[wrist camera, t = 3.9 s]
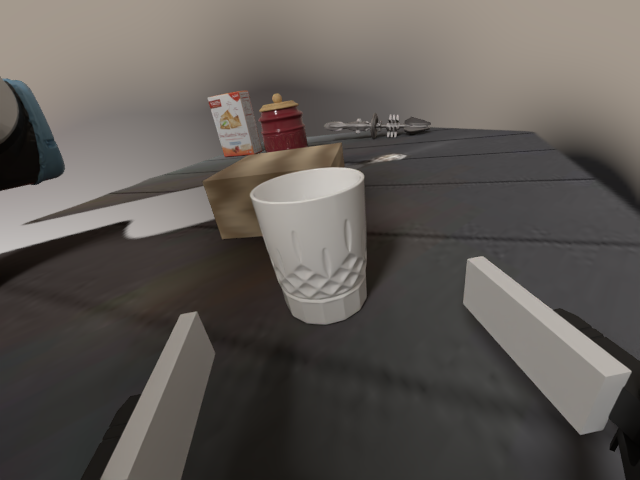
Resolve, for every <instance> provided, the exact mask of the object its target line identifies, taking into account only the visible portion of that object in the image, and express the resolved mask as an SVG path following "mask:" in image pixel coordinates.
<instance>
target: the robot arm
mask: <svg viewBox="0 0 640 480" xmlns="http://www.w3.org/2000/svg"><path fill="white" fill-rule="evenodd" d="M64 170H65V165H64V161H63V158H62V156H61V153H60V151H59V148H58V146H57V144H56V142H55V141H54V137H53V135H52V132H51V130H50V127H49V125H48V123H47V121H46V119H45V116H44V114H43V112H42V110H41V108H40V106H39V104H38V102H37V100H36V99H35V97H34V95H33V93H32V91H31V90H30V88H29V87H28V86H27V85H26V84H25V83H23V82H22V81H18V80H10V79H2V78H1V77H0V191H2V190H7V189H11V188H16V187H20V186H25V185H29V184H31V185H37V184H39V183H41V182H42V181H45V180H49V179H53V178H57V177H59V176H60V175H62V174H63V172H64ZM463 304H464V305H465V306H466V307H467V309H468V310H469V311H470V312H471V313H472V314H473V315H474V316H475V318H476V319H477V320H478V321H479V322H480V323H481V324H482V325H483V327H484V328H485V329H486V330H487V331H488V332H489V333H490V334H491V335H492V337H493V338H494V339H495V340H496V341H497V342H498V343H499V344H500V346H501V347H502V348H503V349H504V350H505V351H506V352H507V353H508V355H509V356H510V357H511V358H512V359H513V360H514V361H515V362H516V364H517V365H518V366H519V367H520V368H521V369H522V370H523V371H524V372H525V374H526V375H527V376H528V377H529V378H530V379H531V380H532V381H533V383H534V384H535V385H536V386H537V387H538V388H539V389H540V390H541V392H542V393H543V394H544V395H545V396H546V397H547V398H548V399H549V400H550V402H551V403H552V404H553V405H554V406H555V407H556V408H557V409H558V411H559V412H560V413H561V414H562V415H563V416H564V417H565V418H566V420H567V421H568V422H569V423H570V424H571V425H572V426H573V427H574V428H575V430H576V431H577V432H578V433H579V434H580V435H582V434H587V433H591V432H596V431H600V430H603V429H604V427H605V425H606V423H607V421H608V419H610V420H611V421H612V422H614V423H615V424H616V425H617V426H618V427H619V428H618V430H617V432H616V434H615V436H614V438H613V439H612V441H611V443H610V450H611V451H614V452H615V450H616V448H617V446H618V444H619V448H620V453H621V458H622V463H623V468H624V473H625V478H626V480H640V361H639V360H637V359H636V358H634V357H633V356H632V355H630V354H629V353H627V352H626V351H625V350H623V349H622V348H621V347H619V346H618V345H616V344H615V343H614V342H612V341H611V340H610V339H608V338H607V337H604V336H603V334H601V333H600V332H599V331H597V330H596V329H593V328H592V327H591V326H590V325H589V324H588V323H586V322H585V321H583V320H582V319H581V318H579V317H578V316H576V315H574V314H572V313H569V312H567V311H565V310H563V309H561V308H559V309H554V310H552V309H550V308H549V307H548V306H547V305H545V304H544V303H543V302H541V301H540V300H539V299H537V298H536V297H535V296H534V295H532V294H531V293H530V292H528V291H527V290H526V289H524V288H523V287H522V286H521V285H519V284H518V283H517V282H515V281H514V280H513V279H512V278H510V277H509V276H508V275H506V274H505V273H504V272H502V271H501V270H500V269H499V268H497V267H496V266H495V265H493V264H492V263H491V262H489V261H488V260H487V259H486V258H484V257H483V256H481V257H475V258H470V259H467V268H466V278H465V289H464V300H463ZM214 356H215V351H214V349H213V347H212V344H211V342H210V340H209V338H208V335H207V333H206V331H205V329H204V326H203V324H202V322H201V320H200V317H199V315H198V313H197V311H196V312H191V313H186V314H181V315H180V317H179V319H178V321H177V323H176V325H175V327H174V329H173V331H172V333H171V335H170V337H169V339H168V341H167V343H166V345H165V348H164V350H163V352H162V354H161V356H160V358H159V360H158V362H157V364H156V366H155V368H154V370H153V372H152V374H151V376H150V378H149V380H148V382H147V384H146V387H145V389H144V391H143V393H142V394H139V395H134V396H130V397H129V398H128V400H127V401H126V402H125V403H124V404H123V405H122V406H121V408H120V409H119V410H118V411H117V413H116V415H115V417H114V418H113V420H112V422H111V424H110V426H109V429H108V430H107V431H106V433H105V435H104V437H103V439H102V443H100V444H99V446H98V448H97V450H96V452H95V454H94V456H93V457H92V459H91V461H90V463H89V465H88V467H87V469H86V470H85V472H84V474H83V476H82V478H81V480H181V477H182V473H183V470H184V466H185V462H186V459H187V455H188V451H189V448H190V444H191V440H192V437H193V433H194V429H195V426H196V422H197V418H198V415H199V411H200V407H201V404H202V400H203V396H204V393H205V389H206V385H207V382H208V378H209V374H210V371H211V367H212V363H213V360H214Z"/></svg>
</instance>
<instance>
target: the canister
mask: <svg viewBox="0 0 640 480" xmlns="http://www.w3.org/2000/svg"><path fill="white" fill-rule="evenodd" d="M272 100H273V102H274V104H268V105H263V107H262V108H261V109H260V110H259V112H261V117H260V118H259V120H258V121H259V122H260V123H261V127H262V132H261V134H262V136H263V141H264V146H265V150H266V153H268V152H276V151H283V150H290V149H298V148H305V147H308V144H307V138H306V132H305V125H304V124H303V121H302V115H303V113H302V112H301V111H299V110H298V108H297V106H298V104H297V103H295V102H294V101H293V100H292V101H286V102H282V97H281V95H280V94H274V95H273V97H272Z"/></svg>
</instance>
